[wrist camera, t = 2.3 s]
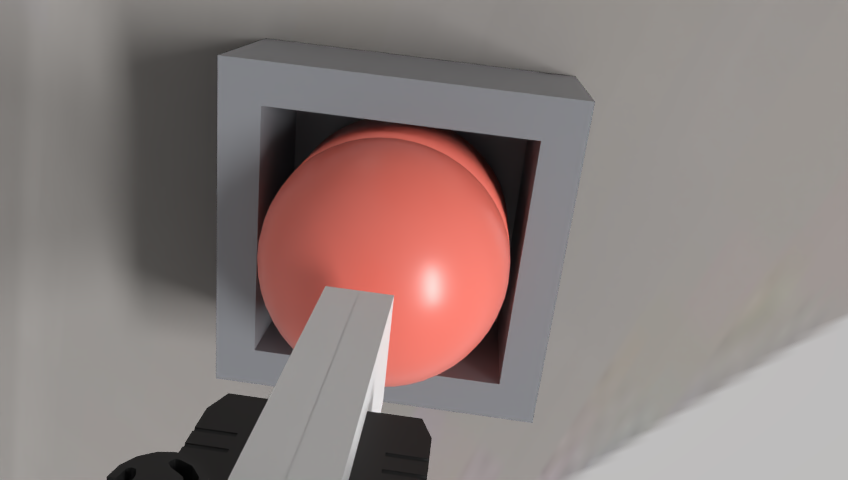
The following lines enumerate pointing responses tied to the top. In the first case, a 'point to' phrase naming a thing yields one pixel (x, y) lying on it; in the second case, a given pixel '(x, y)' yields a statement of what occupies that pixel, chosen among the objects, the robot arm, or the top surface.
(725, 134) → the top surface
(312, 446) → the robot arm
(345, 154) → the coral red ball
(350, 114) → the housing
